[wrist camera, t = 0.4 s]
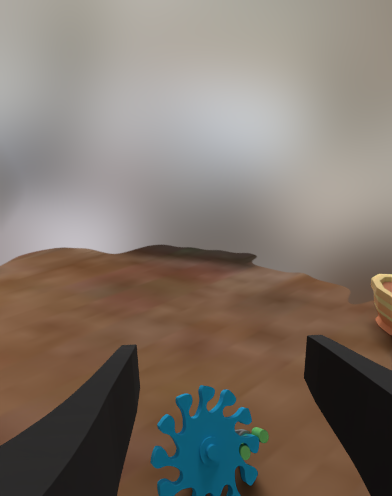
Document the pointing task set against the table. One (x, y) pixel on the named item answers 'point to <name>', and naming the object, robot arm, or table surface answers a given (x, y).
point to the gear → (208, 447)
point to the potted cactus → (383, 300)
